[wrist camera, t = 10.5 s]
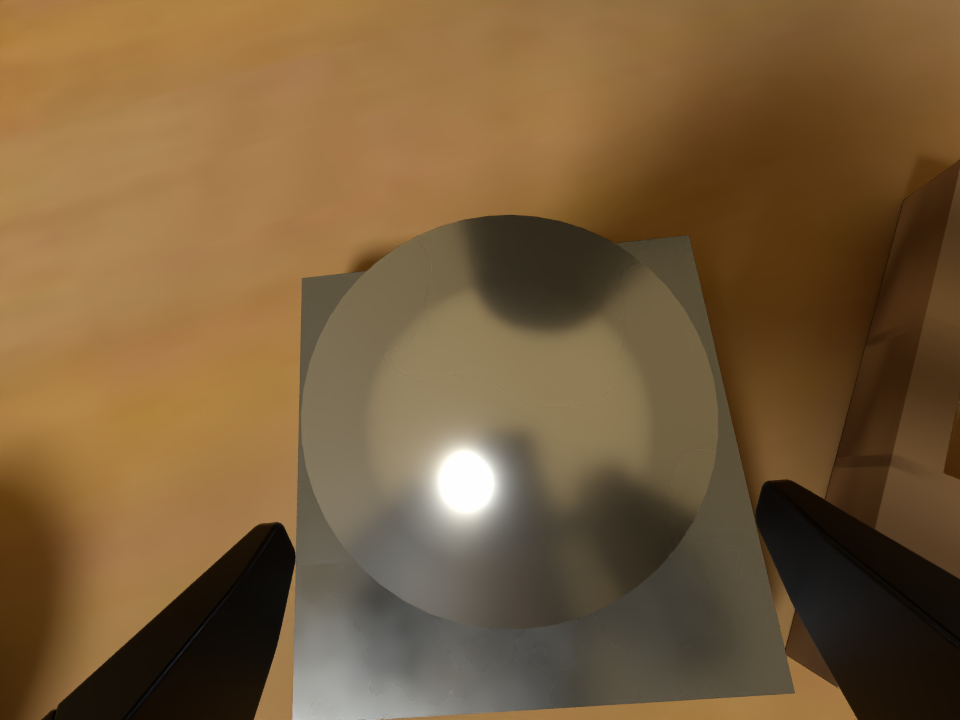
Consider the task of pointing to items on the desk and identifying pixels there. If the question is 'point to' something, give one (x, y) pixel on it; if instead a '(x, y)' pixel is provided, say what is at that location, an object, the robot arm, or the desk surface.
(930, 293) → the wooden block with hole
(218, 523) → the desk surface
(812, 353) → the desk surface
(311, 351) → the block
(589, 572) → the steel axle
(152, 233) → the desk surface
